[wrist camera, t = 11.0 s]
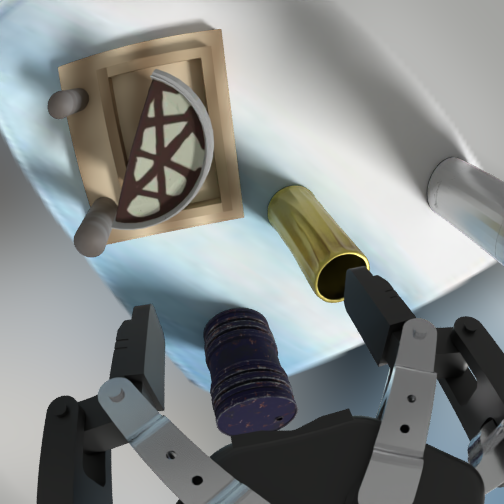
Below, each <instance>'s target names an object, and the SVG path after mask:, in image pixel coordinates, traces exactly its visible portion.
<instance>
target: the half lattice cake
mask: <svg viewBox="0 0 504 504" xmlns="http://www.w3.org/2000/svg"><path fill="white" fill-rule="evenodd" d="M150 77H151V79H152V82H151V85H150V87H149V90H148V95H147V98H146V101H145V104H144V107H143V111H142V114H141V117H140V120H139V124H138V127H137V131H136V134H135V138H134V141H133V145H132V148H131V152H130V156H129V160H128V164H127V168H126V172H125V176H124V180H123V185H122V189H121V193H120V198H119V203H118V208H117V212H116V215H115V218H114V220H113V223H112V226H111V229H118V230H137V229H144V228H148V227H151V226H154V225H157V224H160V223H162V222H164V221H166V220H168V219H170V218H172V217H173V216H175V215H176V214H178V213H179V212H180V211H181V210H183V209H184V208H185V207H186V206H187V205H188V204H189V203H190V202H191V201H192V200H193V198H194V197H195V196H196V195H197V193H198V191H199V190H200V188H201V187H202V185H203V183H204V181H205V179H206V177H207V175H208V172H209V170H210V166H211V163H212V159H213V151H214V136H213V129H212V125H211V121H210V118H209V115H208V113H207V111H206V108H205V106H204V105H203V103H202V102H201V100H200V99H199V97H198V96H197V95H196V94H195V93H194V91H193V90H192V89H191V88H190V87H189V86H188V85H186V84H185V83H184V82H182V81H181V80H180V79H178V78H176V77H175V76H173V75H171V74H169V73H167V72H164V71H161V70H158V69H155V70H154V71H153V73H152V75H151V76H150Z"/></svg>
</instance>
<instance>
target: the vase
mask: <svg viewBox="0 0 504 504" xmlns="http://www.w3.org/2000/svg"><path fill="white" fill-rule="evenodd" d="M268 219H269V222H270V223H271V225H272V226H273V227H274V228H275V230H276V231H277V232H278V233H279V235H280V236H281V238H282V239H283V241H284V242H285V244H286V245H287V246H288V248H289V249H290V251H291V253H292V254H293V256H294V258H295V259H296V261H297V263H298V265H299V267H300V268H301V270H302V272H303V274H304V275H305V277H306V279H307V281H308V283H309V284H310V286H311V288H312V289H313V291H314V293H315V294H316V295H317V296H318V297H319V298H320V299H322V300H323V301H325V302H329V303H337V302H341V301H344V291H345V281H346V272H347V270H348V269H352V268H356V267H361V266H365V267H367V269H368V270H369V271H370V266H369V262H368V259H367V257H366V256H365V255H364V254H363V253H362V252H361V250H360V249H359V248H358V247H357V246H356V245H355V244H354V243H353V241H352V240H351V239H350V238H349V237H348V236H347V234H346V233H345V232H344V231H343V230H342V229H341V228H340V227H339V225H338V224H337V223H336V222H335V221H334V219H333V218H332V217H331V216H330V215H329V214H328V212H327V211H326V210H325V209H324V208H323V206H322V205H321V204H320V203H319V202H318V200H317V199H316V198H315V196H314V195H313V193H312V192H311V191H310V190H308V189H307V188H305V187H302V186H288V187H285V188H283V189H281V190H280V191H278V192H277V193H276V194H275V195H274V196H273V198H272V199H271V201H270V203H269V205H268Z"/></svg>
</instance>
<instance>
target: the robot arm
mask: <svg viewBox="0 0 504 504" xmlns="http://www.w3.org/2000/svg"><path fill="white" fill-rule="evenodd" d="M427 196H428V202H429V205H430V207H431V209H432V210H433V211H434V212H435V213H437V214H438V215H439V216H441V217H442V218H443V219H445V220H446V221H448V222H449V223H450V224H451V225H453V226H454V227H455V228H457V229H458V230H459V231H461V232H462V233H463V234H465V235H466V236H467V237H468V238H470V239H471V240H472V241H473V242H475V243H476V244H477V245H479V246H480V247H481V248H482V249H483V250H485V251H486V252H487V253H488V254H490V255H491V256H492V257H493V258H494V259H496V260H497V261H498V262H499V263H500V264H502V265H503V266H504V182H503V181H502V180H500V179H498V178H496V177H494V176H493V175H491V174H489V173H487V172H485V171H483V170H481V169H479V168H477V167H476V166H474V165H472V164H470V163H467V162H465V161H463V160H461V159H459V158H456V157H452V158H448V159H446V160H444V161H443V162H441V163H440V164H439V165H438V166H437V168H436V169H435V170H434V172H433V174H432V176H431V179H430V181H429V185H428V193H427ZM344 304H345V308H346V311H347V313H348V315H349V316H350V318H351V320H352V321H353V323H354V325H355V327H356V328H357V330H358V332H359V333H360V335H361V337H362V339H363V340H364V342H365V344H366V345H367V347H368V349H369V351H370V353H371V354H372V356H373V358H374V360H375V361H376V363H377V365H378V366H383V365H386V364H388V365H389V367H390V370H389V373H388V378H387V381H386V385H385V389H384V393H383V396H382V399H381V403H380V406H379V409H378V413H377V415H376V418H371V417H366V416H352V415H351V412H350V410H349V409H346V410H342V411H339V412H335V413H332V414H328V415H325V416H322V417H319V418H317V419H315V420H314V421H312V422H310V423H308V424H306V425H304V426H302V427H300V428H298V429H296V430H292V431H265V430H260V431H255V432H250V433H244V434H238V435H232V436H231V440H232V444H229V445H227V446H225V447H223V448H221V449H219V450H218V451H216V452H215V453H214V454H213V455H211V456H210V457H209V456H207V455H206V454H205V453H204V452H203V451H202V450H201V449H200V448H198V447H197V446H196V445H195V444H194V443H193V442H192V441H191V440H190V439H189V438H187V436H186V435H184V434H183V433H182V432H181V431H180V430H179V429H178V428H177V427H176V426H175V425H174V424H173V423H172V422H171V421H170V420H169V419H168V418H167V417H166V416H164V415H163V416H162V415H161V414H159V412H158V411H164V375H165V373H164V372H165V339H164V334H163V331H162V328H161V325H160V322H159V320H158V317H157V314H156V312H155V309H154V306H153V305H152V304H148V305H141V306H135V307H134V308H133V313H132V319H131V320H125V321H124V322H123V323H122V325H121V326H120V328H119V329H118V332H117V337H116V343H115V350H114V354H113V359H112V365H111V372H110V378H109V380H108V381H106V382H105V383H104V384H103V385H102V386H101V387H100V389H99V392H98V395H96V396H94V397H91V398H89V399H86V400H83V401H80V402H77V401H76V400H75V399H74V398H73V397H71V396H61V397H58V398H56V399H55V400H53V401H52V402H51V404H50V405H49V407H48V409H47V413H46V419H45V426H44V432H43V439H42V447H41V455H40V464H39V475H38V487H37V504H113V500H112V474H111V449H113V448H115V447H118V446H121V445H124V444H127V443H130V445H131V446H132V447H133V448H134V450H135V451H136V452H137V453H138V454H139V456H140V457H141V458H142V459H143V460H144V462H145V463H146V464H147V465H148V466H149V467H150V468H151V469H152V471H153V472H154V473H155V474H156V475H157V476H158V477H159V478H160V479H161V480H162V481H163V483H164V484H165V485H166V486H167V487H168V488H169V489H170V490H171V491H172V492H173V493H174V494H175V495H176V496H177V497H178V498H179V500H178V502H177V503H176V504H484V500H485V494H487V493H488V492H490V491H491V490H493V489H495V488H496V487H504V353H503V352H502V350H501V349H500V348H499V346H498V345H497V344H496V342H495V341H494V340H493V338H492V337H491V336H490V334H489V333H488V332H487V330H486V329H485V328H484V327H483V325H482V324H481V323H480V322H479V321H478V320H476V319H474V318H472V317H466V316H465V317H460V318H458V319H457V320H456V322H455V324H454V326H453V327H448V328H435V326H434V325H433V324H432V323H430V322H429V321H427V320H425V319H421V318H416V317H415V315H414V314H413V313H412V311H411V310H410V309H409V308H408V306H407V305H406V304H405V303H404V301H403V300H402V299H401V297H399V295H398V294H397V292H396V291H395V290H394V289H393V287H392V286H391V285H390V284H389V282H388V281H386V280H385V279H383V278H382V277H380V276H378V275H376V276H373V275H372V274H371V272H370V271H369V270H368V269H367V267H365V266H361V267H356V268H352V269H348V270H347V272H346V281H345V291H344ZM468 366H469V368H470V369H471V370H472V372H473V374H474V375H475V377H476V379H477V381H476V379H475V378H474V376H473V374H472V373H471V371H470V370H469V368H468ZM436 379H437V380H438V381H439V383H440V385H441V387H442V388H443V390H444V392H445V394H446V396H447V398H448V399H449V401H450V403H451V405H452V407H453V409H454V410H455V412H456V414H457V416H458V418H459V420H460V422H461V424H462V426H463V428H464V430H465V432H466V434H467V436H468V438H469V440H470V443H469V446H468V462H469V463H467V462H465V461H463V460H461V459H458V458H456V457H454V456H452V455H450V454H448V453H445V452H443V451H441V450H439V449H437V448H435V447H433V446H431V445H428V444H426V439H427V435H428V430H429V425H430V419H431V413H432V407H433V401H434V394H435V387H436Z"/></svg>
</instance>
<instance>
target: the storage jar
mask: <svg viewBox="0 0 504 504" xmlns="http://www.w3.org/2000/svg"><path fill="white" fill-rule="evenodd" d="M204 342H205V346H204V350H205V357H206V364H207V367H208V369H209V371H210V374H211V381H212V383H211V389H210V394H211V397H212V405H213V410H214V412H215V416H216V425H217V428H218V429H219V430H220V431H221V432H222V433H224V434H226V435H229V436H232V435H238V434H244V433H250V432H255V431H260V430H265V431H277V430H279V429H281V428H283V427H285V426H286V425H287V424H289V423H290V422H291V421H292V420H293V419H294V418H295V416H296V414H297V411H298V408H297V405H296V402H295V400H294V396H293V392H292V388H291V385H290V382H289V381H288V376H287V374H286V372H285V371H284V369H283V368H282V367H281V365H280V362H279V359H278V350H277V345H276V343H275V340H274V337H273V334H272V332H271V331H270V329H269V325H268V322H267V320H266V318H265V317H264V316H263V315H262V314H261V313H259V312H257V311H255V310H252V309H248V308H234V309H229V310H226V311H223V312H221V313H219V314H217V315H216V316H214V317H213V318H212V319H211V320H210V321H209V322H208V323H207V325H206V327H205V329H204Z"/></svg>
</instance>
